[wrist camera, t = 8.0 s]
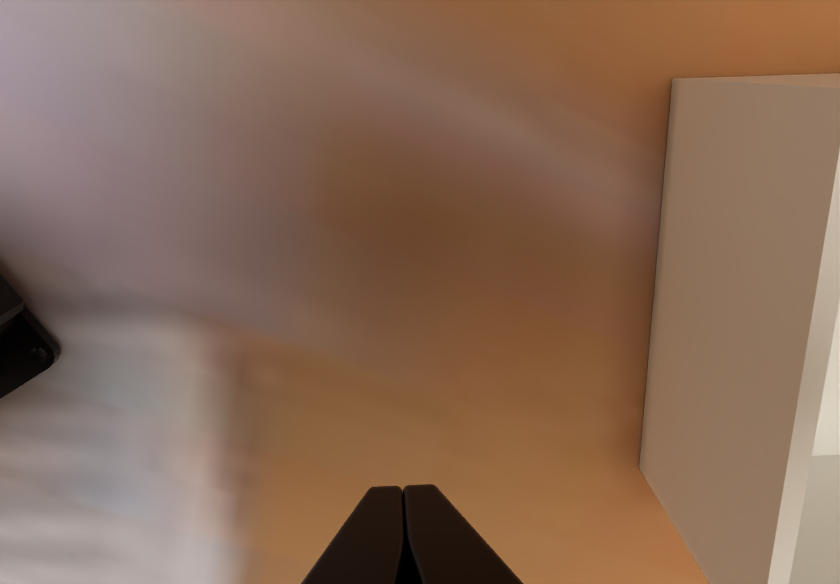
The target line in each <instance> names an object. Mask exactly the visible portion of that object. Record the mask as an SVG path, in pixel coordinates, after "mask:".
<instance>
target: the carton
mask: <svg viewBox="0 0 840 584" xmlns="http://www.w3.org/2000/svg"><path fill="white" fill-rule="evenodd" d="M639 469H640V471H641V473H642V474H643V476H644V478H645V479H646V481H647V483H648V484H649V486H650V487H651V489H652V491H653V492H654V494H655V496H656V497H657V499H658V501H659V502H660V504H661V505H662V507H663V509H664V510H665V512H666V514H667V515H668V517H669V518H670V520H671V522H672V523H673V525H674V527H675V528H676V530H677V532H678V533H679V535H680V536H681V538H682V540H683V541H684V543H685V545H686V546H687V548H688V550H689V551H690V553H691V554H692V556H693V558H694V559H695V561H696V563H697V564H698V566H699V568H700V569H701V571H702V572H703V574H704V576H705V577H706V579H707V581H708V582H709V584H840V73H828V74H797V75H766V76H734V77H703V78H672V88H671V100H670V111H669V123H668V135H667V146H666V158H665V170H664V182H663V193H662V205H661V217H660V228H659V240H658V252H657V263H656V275H655V287H654V299H653V310H652V322H651V334H650V345H649V357H648V369H647V380H646V392H645V404H644V416H643V427H642V439H641V451H640V462H639Z"/></svg>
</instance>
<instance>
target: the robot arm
mask: <svg viewBox="0 0 840 584" xmlns="http://www.w3.org/2000/svg"><path fill="white" fill-rule="evenodd" d="M36 348H41V349H42V350H44V351H45V353H46V358H45V357H41V356H39V355H38V354H37V352H36ZM59 356H60V347H59V345H58V344H57V342H56V341H55V340H54V339H53V337H52V336H51V335H50V334H49V333H48V332H47V331H46V329H45V328H44V327H43V326H42V325H41V324H40V323H39V321H38V320H37V319H36V318H35V317H34V316H33V315H32V313H31V312H30V311H29V310H28V309H27V308H26V307H25V305H24V304H23V301H22V298H21V297H20V296H19V295H18V294H17V293H16V292H15V290H14V289H13V288H12V287H11V286H10V285H9V284H8V282H7V281H6V280H5V279H4V278H3V277H2V276H1V274H0V399H1V398H2V397H4V396H5V395H7V394H8V393H10V392H12V391H13V390H15V389H16V388H18V387H19V386H21V385H23V384H24V383H26V382H27V381H29V380H30V379H32V378H34V377H35V376H37V375H38V374H40V373H41V372H43V371H45V370H46V369H48V368H49V367H50V366H51V365H53V364H54V363H55V362H56V361H57V360H58V359H59ZM301 584H523V583H522V582H521V580H520V579H519V578H518V577H517V576H516V575H515V574H514V573H513V572H512V570H511V569H510V568H509V567H508V566H507V565H506V564H505V563H504V562H503V560H502V559H501V558H500V557H499V556H498V555H497V554H496V553H495V551H494V550H493V549H492V548H491V547H490V546H489V545H488V544H487V543H486V541H485V540H484V539H483V538H482V537H481V536H480V535H479V534H478V533H477V531H476V530H475V529H474V528H473V527H472V526H471V525H470V524H469V523H468V521H467V520H466V519H465V518H464V517H463V516H462V515H461V514H460V513H459V511H458V510H457V509H456V508H455V507H454V506H453V505H452V504H451V503H450V501H449V500H448V499H447V498H446V497H445V496H444V495H443V494H442V492H441V491H440V490H439V489H438V488H437V487H436V486H434V485H432V484H426V485H408V486H405V487H404V489H403V493H402V489H401V488H400V487H399V486H378V487H371V488H370V489H369V490H368V491H367V492H366V494H365V495H364V497H363V498H362V499H361V501H360V502H359V504H358V505H357V506H356V508H355V509H354V511H353V512H352V513H351V515H350V516H349V518H348V519H347V520H346V522H345V523H344V524H343V526H342V527H341V529H340V530H339V531H338V533H337V534H336V536H335V537H334V538H333V540H332V541H331V543H330V544H329V545H328V547H327V548H326V550H325V551H324V552H323V554H322V555H321V557H320V558H319V559H318V561H317V562H316V564H315V565H314V566H313V568H312V569H311V570H310V572H309V573H308V575H307V576H306V577H305V579H304V580H303V582H302V583H301Z"/></svg>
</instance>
